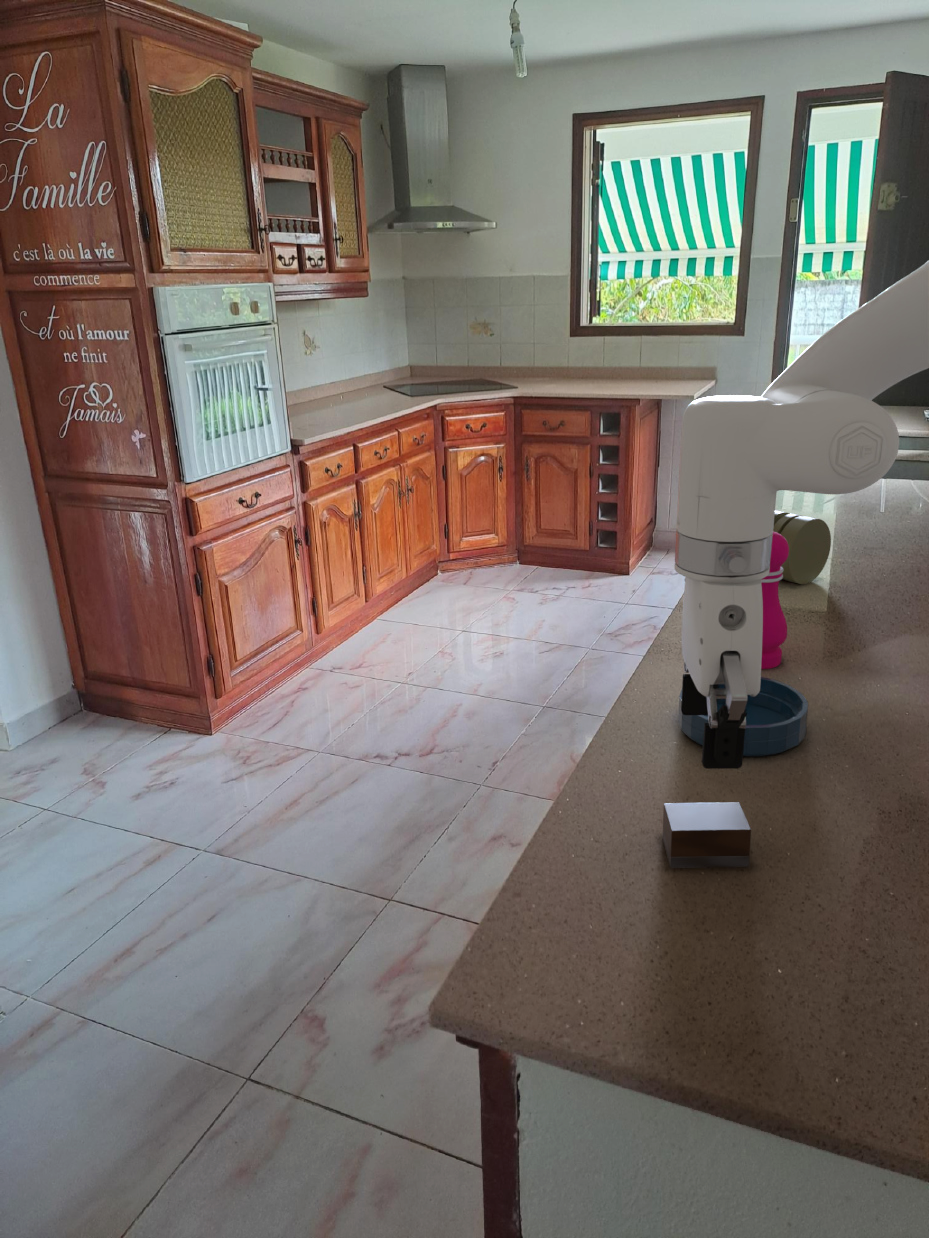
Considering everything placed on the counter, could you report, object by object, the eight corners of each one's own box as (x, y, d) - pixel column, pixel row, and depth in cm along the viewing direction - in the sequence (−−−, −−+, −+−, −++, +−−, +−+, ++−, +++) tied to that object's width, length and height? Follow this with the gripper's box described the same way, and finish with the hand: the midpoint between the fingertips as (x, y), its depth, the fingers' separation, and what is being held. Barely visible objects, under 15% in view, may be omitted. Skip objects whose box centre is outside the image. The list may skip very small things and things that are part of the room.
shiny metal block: (736, 838, 84) (739, 801, 82) (748, 867, 79) (751, 829, 78) (662, 839, 84) (663, 803, 83) (670, 868, 80) (671, 830, 79)
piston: (770, 561, 163) (774, 502, 159) (827, 576, 154) (833, 513, 150) (729, 574, 157) (733, 513, 153) (786, 590, 148) (791, 525, 144)
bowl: (784, 701, 110) (787, 672, 108) (822, 758, 97) (825, 725, 95) (669, 704, 111) (670, 675, 109) (690, 761, 97) (692, 728, 96)
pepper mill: (751, 646, 127) (760, 510, 120) (795, 660, 121) (807, 519, 114) (719, 660, 123) (726, 520, 116) (763, 675, 117) (773, 530, 110)
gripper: (801, 585, 63) (780, 791, 69) (743, 525, 80) (730, 696, 86) (696, 586, 64) (684, 791, 70) (659, 526, 80) (652, 697, 86)
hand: (709, 738), depth 78 cm, fingers open, 9 cm apart
